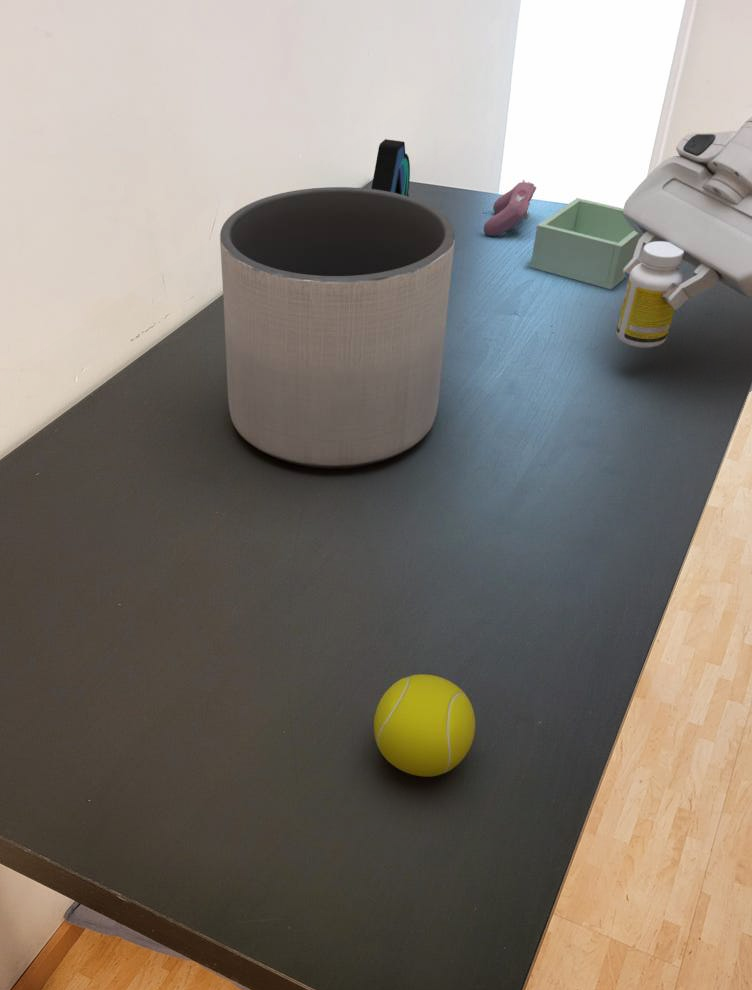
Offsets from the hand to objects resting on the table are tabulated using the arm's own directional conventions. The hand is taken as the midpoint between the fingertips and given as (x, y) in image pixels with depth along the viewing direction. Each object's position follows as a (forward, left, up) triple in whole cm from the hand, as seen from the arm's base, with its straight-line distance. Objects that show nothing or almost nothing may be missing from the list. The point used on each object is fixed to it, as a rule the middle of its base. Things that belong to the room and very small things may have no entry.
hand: (647, 290), depth 99 cm
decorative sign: (+39, -9, -10) cm, 41 cm away
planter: (+21, +28, -10) cm, 36 cm away
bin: (+16, -24, -9) cm, 31 cm away
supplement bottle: (0, -1, -6) cm, 6 cm away
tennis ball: (-11, +61, -10) cm, 62 cm away
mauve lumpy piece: (+31, -29, -10) cm, 44 cm away
